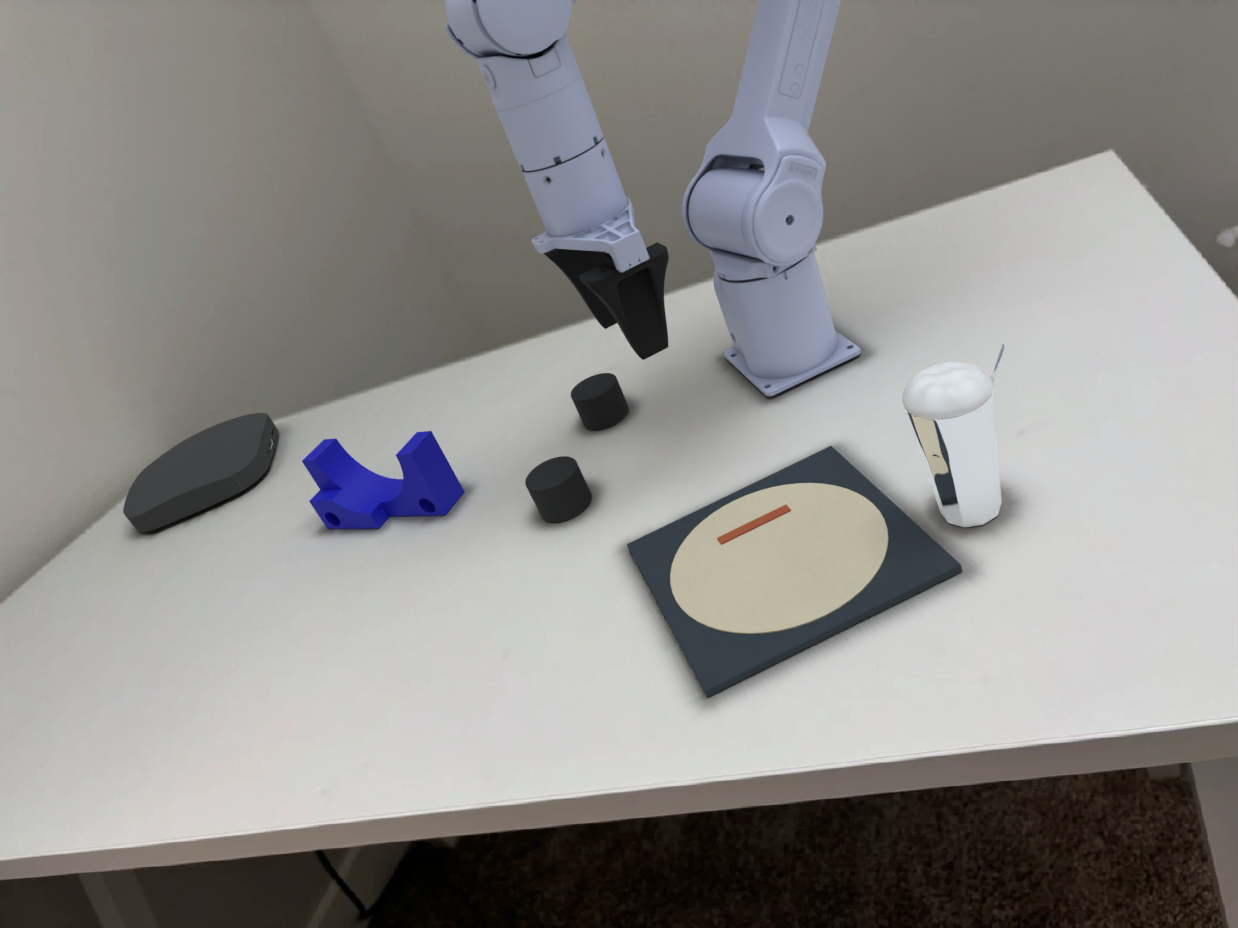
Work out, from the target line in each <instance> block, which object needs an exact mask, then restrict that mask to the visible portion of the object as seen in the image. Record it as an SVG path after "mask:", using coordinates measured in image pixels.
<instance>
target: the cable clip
mask: <svg viewBox="0 0 1238 928" xmlns="http://www.w3.org/2000/svg"><path fill="white" fill-rule="evenodd" d="M395 457H396V459H397V460H398V462H399V465H400V468H401V471H402V478H391V477H387V476H384V475H381V474H379V473H375V472H374V471H372V470H370V469H368V468H367V467H365V466H364V465H362V464H361V463H360V462H359V461H358V460H356V459H355V458H354V457H353V456H352V455H350V454H349V453H348V451H347V450H346V449H345V448H344V446H343V445H342V444H341V443H340V442H339V440H338V438H335V437H334V438H324V439H323V440H322V441H320V443H319V444H317V445H316V446H315V448H313V449H312V450H311V451H310V452H309V453H308V454H307V455H306V456H305V457H304V458H303V459H302V460H301V462H302V464H303V466H304V467H305V469H306V470H307V472H308V474H309V475H310V476H311V478H312V479H313V481H314V482H315V484H316V485H317V488H318V489H319V490H318V491H317V492H316V493H315V494H314V496H312V497H311V499H309V501H308V502H309V504H310V505H311V506H312V508H313V509H314V511H315V512H316V514H317V516H318V517H319V519H320V520H321V521H322V523H323V524H324V526H325V528H326V529H327V530H346V529H347V530H350V529H353V530H355V529H356V530H358V529H359V530H360V529H361V530H362V529H363V530H364V529H366V530H367V529H371V530H373V529H380V528H381V527H382V526H383V525H384V523H385V522H386V521H387V520H388V519H389V518H390V517H426V516H427V517H428V516H429V517H431V516H432V517H433V516H434V517H435V516H436V517H437V516H440V517H441V516H446V515H447V514H448V513H449V512H450V510H451V509H452V507H453V506H454V505H455V504H456V503H457V502H458V501H459V499H460V498H461V497H462V495H463V494H464V493H465V489H464V488H463V486H462V484H461V483H460V481H459V479H458V476H457V475H456V473H455V471H454V469H453V468H452V465H451V464H450V463H449V460H448V459H447V457H446V455H445V453H444V451H443V450H442V447H441V446H440V444H439V442H438V440H437V439H436V437H435V435H434V433H433V431H432V430H426V431H425V430H423V431H416V432H415V433H414V434H413V435H412V437H411V438H410V439H409V440H408V441H407V442H406V443H405V444H404V445H403V446H402V448H401V449H399V451H398V452H397V453H396V454H395Z"/></svg>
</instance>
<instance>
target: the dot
mask: <svg viewBox="0 0 1238 928" xmlns="http://www.w3.org/2000/svg"><path fill="white" fill-rule="evenodd" d="M570 398H571V400H572V402H573V405H574V407H575V409H576V411H577V413H578V414H577V415H579V416H578V417H579V418H580V421H581V422H582V424H583V427H584V429H587V430H589V431H601V430H606V429H608V428H611V427H613V426H615V425H617V424H619V423H620V422H622V421H623V420H624V419H625V418H626V416H628V414H629V411H630V406H629V405H628V401H627V399H626V397H625V395H624V392H623V389H622V387H621V384H620V381H619V379H618V378H617V376H616V375H615V374H614V373H611V372H610V373H609V372H602V373H597V374H594V375H591V376H589V377H586V378H584V379H582V380H581V381H579V382H578V383H576V385H575V386H574V387H573V388H572V389H571V391H570Z"/></svg>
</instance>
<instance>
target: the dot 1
mask: <svg viewBox="0 0 1238 928" xmlns="http://www.w3.org/2000/svg"><path fill="white" fill-rule="evenodd" d="M524 483H525V484H524V485H525V487H526V489H527V491H528V493H529V495H530V497H531V499H532V501H533V503H534V505H535V507H536V508H537V511H538V513H539V515H540V517H541V518H542V519H543V520H544V521H545V522H547V523H555V524H556V523H562V522H566V521H569V520H571V519H573V518H575V517H577V516H579V515H580V514H582V512H584V511H585V510H586V509H587V508H588V507H589V505H590V504H591V501H592V499H593V497H592V496H593V494H592V492H591V490H590V487H589V485H588V483H587V481H586V479H585V477H584V475H583V472H582V470H581V468H580V466H579V464H578V462H577V460H576V459H575V458H574V457H571V456H567V455H562V456H561V455H560V456H555V457H551V458H549V459H547V460H544V461H543V462H541V463H539V464H538V465H536V466H535V467H533V469H531V470H530V472H528V474H527V476H526V478H525V481H524Z"/></svg>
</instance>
